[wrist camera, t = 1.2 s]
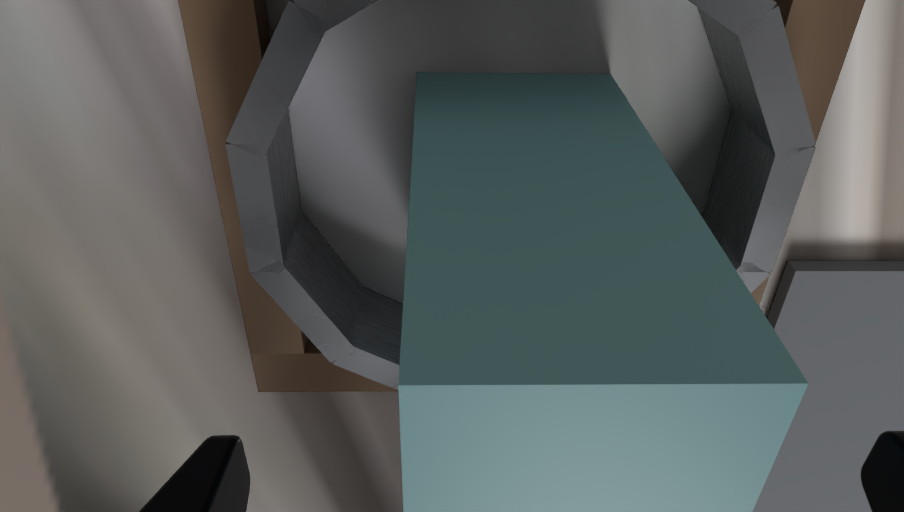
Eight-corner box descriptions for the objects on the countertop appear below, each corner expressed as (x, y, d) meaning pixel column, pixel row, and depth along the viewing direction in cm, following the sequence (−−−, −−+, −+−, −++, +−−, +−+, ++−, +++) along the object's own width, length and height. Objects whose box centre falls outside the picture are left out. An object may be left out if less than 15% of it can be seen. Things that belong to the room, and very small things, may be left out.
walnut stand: (265, 367, 21) (258, 391, 20) (162, -176, 13) (142, -175, 12) (718, 366, 21) (729, 389, 20) (890, -163, 13) (920, -160, 12)
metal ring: (291, 345, 20) (275, 408, 18) (218, -121, 13) (178, -106, 11) (695, 344, 20) (725, 406, 18) (829, -111, 14) (900, -95, 11)
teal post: (418, 236, 18) (407, 607, 10) (416, 72, 16) (398, 385, 7) (585, 237, 18) (712, 603, 10) (610, 74, 16) (809, 383, 7)
